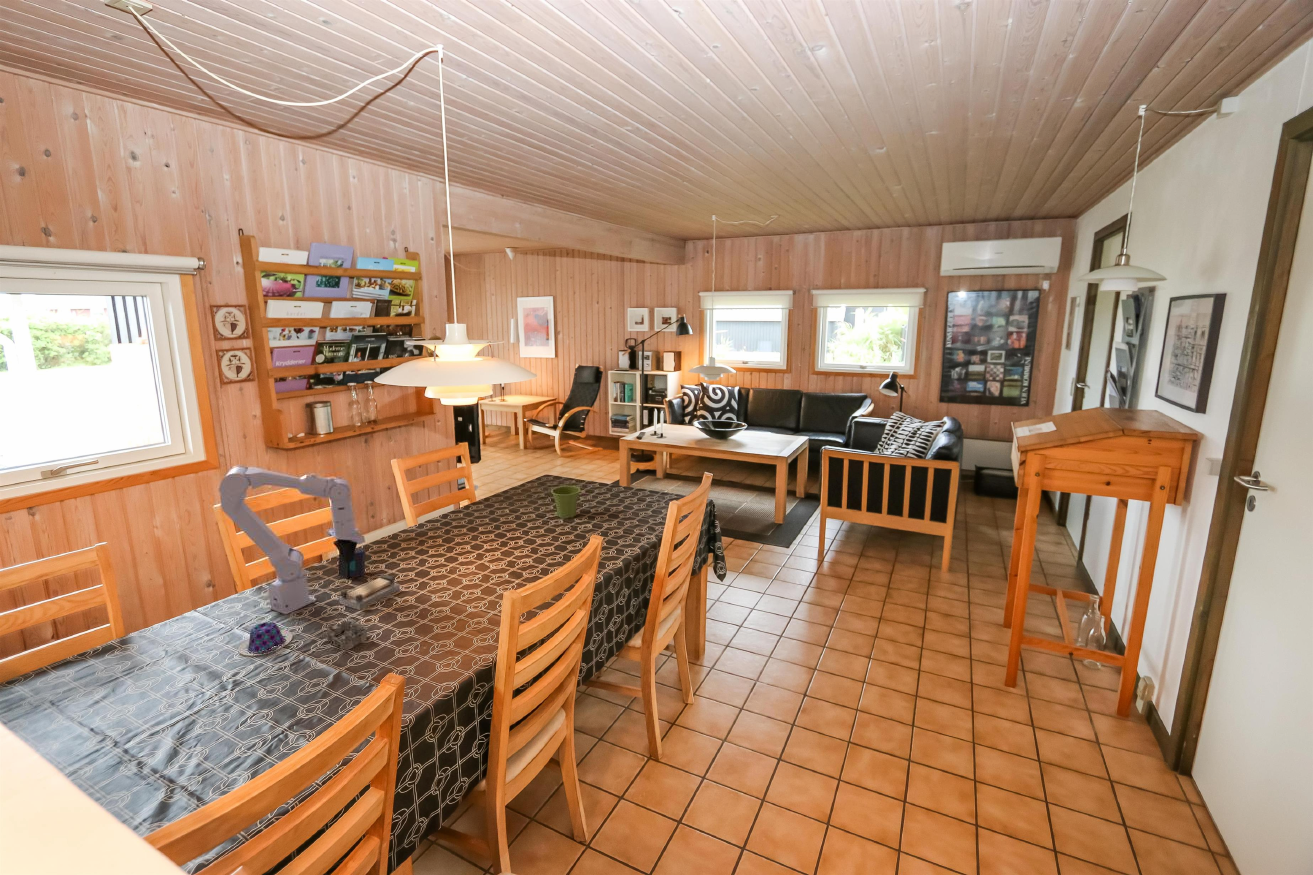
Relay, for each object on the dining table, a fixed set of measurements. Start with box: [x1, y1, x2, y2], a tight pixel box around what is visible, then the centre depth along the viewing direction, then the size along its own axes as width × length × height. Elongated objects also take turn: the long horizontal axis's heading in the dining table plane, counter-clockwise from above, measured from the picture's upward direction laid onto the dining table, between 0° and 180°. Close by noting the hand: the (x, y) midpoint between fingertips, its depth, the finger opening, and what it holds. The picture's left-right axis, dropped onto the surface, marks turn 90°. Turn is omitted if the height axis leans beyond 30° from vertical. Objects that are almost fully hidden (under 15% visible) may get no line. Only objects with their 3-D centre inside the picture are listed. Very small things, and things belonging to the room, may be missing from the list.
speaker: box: [338, 547, 367, 581], centre depth 197 cm, size 8×6×10 cm
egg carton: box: [323, 618, 368, 650], centre depth 160 cm, size 11×8×4 cm
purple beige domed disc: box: [238, 621, 293, 657], centre depth 158 cm, size 12×12×5 cm
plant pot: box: [550, 485, 581, 519], centre depth 251 cm, size 12×12×11 cm
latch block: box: [338, 573, 401, 611], centre depth 183 cm, size 14×9×4 cm, turn 153°
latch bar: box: [346, 577, 391, 600], centre depth 183 cm, size 12×5×1 cm, turn 153°
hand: (349, 561), depth 184 cm, fingers closed
